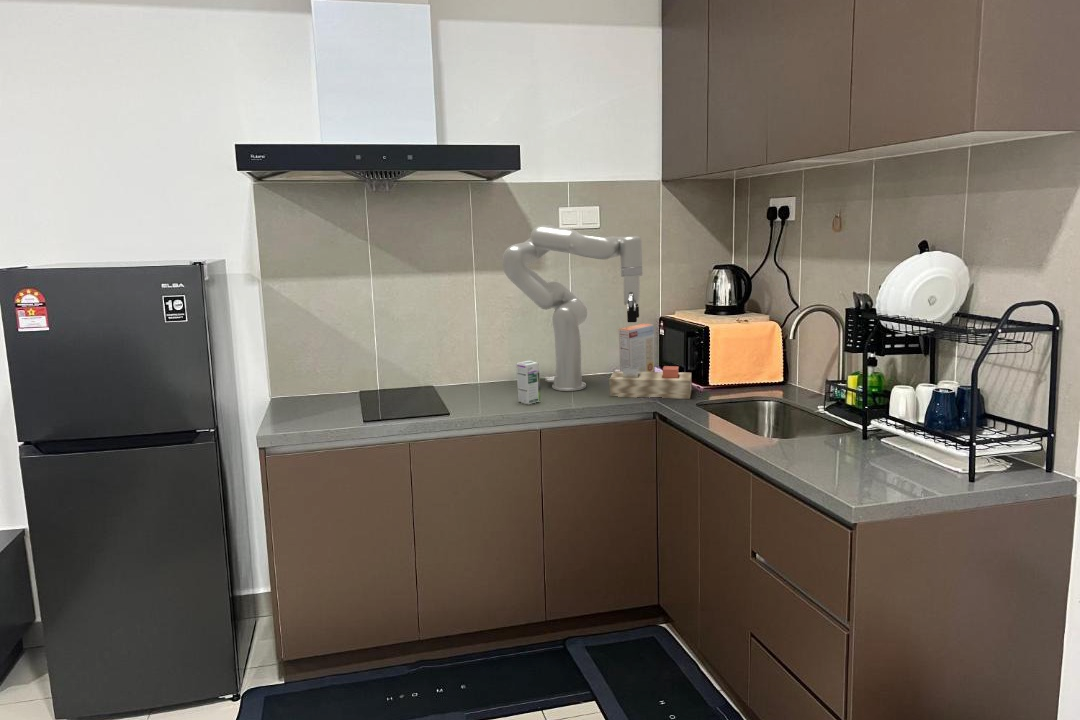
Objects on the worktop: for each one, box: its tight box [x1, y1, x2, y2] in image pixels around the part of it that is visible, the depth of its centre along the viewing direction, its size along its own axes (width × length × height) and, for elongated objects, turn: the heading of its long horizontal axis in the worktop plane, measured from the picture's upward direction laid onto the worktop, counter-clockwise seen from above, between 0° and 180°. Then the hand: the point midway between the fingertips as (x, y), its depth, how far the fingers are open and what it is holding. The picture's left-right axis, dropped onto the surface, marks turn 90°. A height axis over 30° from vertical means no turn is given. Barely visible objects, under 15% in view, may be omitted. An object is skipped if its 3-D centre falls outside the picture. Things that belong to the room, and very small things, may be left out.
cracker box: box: [618, 323, 656, 372], centre depth 300 cm, size 14×6×21 cm, turn 130°
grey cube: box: [623, 366, 639, 378], centre depth 282 cm, size 5×5×5 cm
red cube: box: [662, 365, 680, 378], centre depth 279 cm, size 5×5×5 cm
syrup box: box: [516, 360, 542, 403], centre depth 275 cm, size 6×6×14 cm
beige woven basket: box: [609, 370, 692, 400], centre depth 281 cm, size 28×12×6 cm, turn 77°
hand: (633, 319), depth 280 cm, fingers open, 9 cm apart
